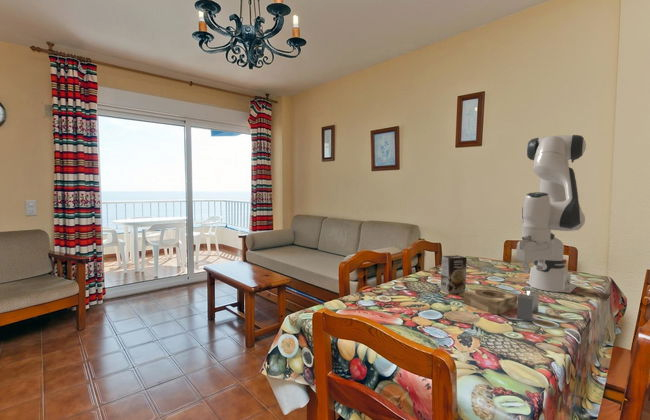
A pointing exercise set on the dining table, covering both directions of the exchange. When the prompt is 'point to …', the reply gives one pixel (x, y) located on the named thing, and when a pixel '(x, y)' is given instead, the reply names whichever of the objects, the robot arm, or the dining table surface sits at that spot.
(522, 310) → the square bit
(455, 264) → the coffee box
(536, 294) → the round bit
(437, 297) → the dining table surface
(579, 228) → the robot arm
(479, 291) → the bore block
